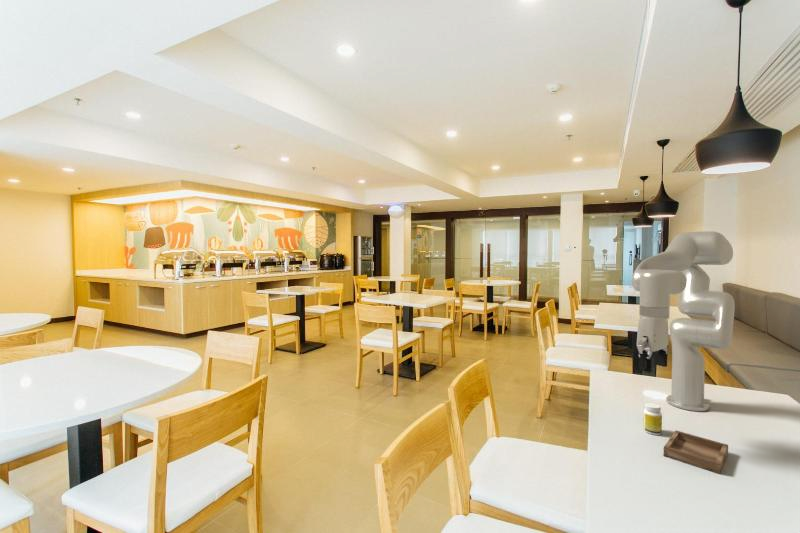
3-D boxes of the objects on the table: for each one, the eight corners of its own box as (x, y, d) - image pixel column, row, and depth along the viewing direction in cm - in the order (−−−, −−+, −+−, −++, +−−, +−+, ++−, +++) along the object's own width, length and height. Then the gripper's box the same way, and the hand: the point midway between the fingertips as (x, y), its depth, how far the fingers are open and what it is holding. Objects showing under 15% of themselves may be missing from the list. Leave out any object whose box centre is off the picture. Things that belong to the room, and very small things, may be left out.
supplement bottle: (664, 436, 116) (665, 409, 116) (647, 434, 117) (647, 407, 117) (657, 428, 121) (657, 402, 120) (640, 427, 122) (641, 401, 121)
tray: (675, 438, 114) (675, 430, 114) (728, 453, 106) (728, 444, 106) (663, 455, 105) (663, 447, 105) (719, 474, 96) (720, 464, 96)
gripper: (654, 308, 123) (653, 360, 123) (626, 313, 113) (625, 370, 114) (681, 311, 116) (680, 366, 117) (653, 316, 107) (652, 377, 108)
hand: (653, 368), depth 115 cm, fingers open, 9 cm apart
